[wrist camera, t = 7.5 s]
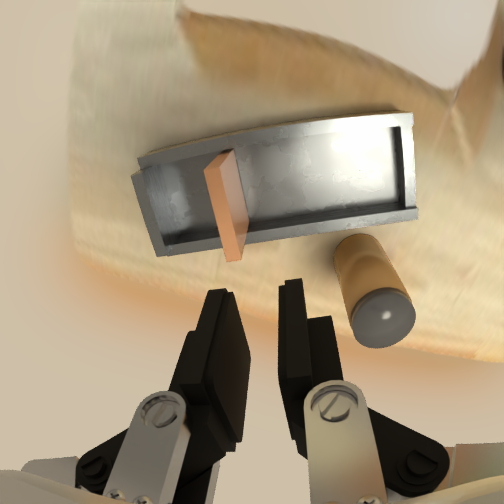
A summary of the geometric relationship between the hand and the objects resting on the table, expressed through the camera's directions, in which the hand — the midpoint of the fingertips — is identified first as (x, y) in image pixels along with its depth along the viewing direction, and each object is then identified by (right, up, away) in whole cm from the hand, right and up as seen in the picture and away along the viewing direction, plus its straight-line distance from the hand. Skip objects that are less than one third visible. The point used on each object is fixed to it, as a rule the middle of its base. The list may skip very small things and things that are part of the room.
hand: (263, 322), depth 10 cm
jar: (+10, +2, +20) cm, 22 cm away
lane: (+2, +9, +17) cm, 19 cm away
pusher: (-2, +8, +16) cm, 18 cm away
